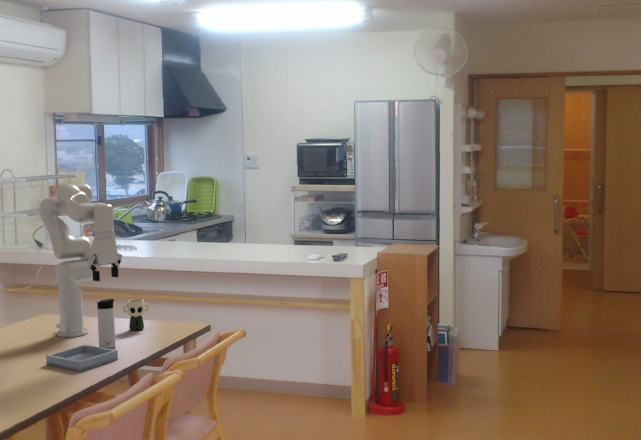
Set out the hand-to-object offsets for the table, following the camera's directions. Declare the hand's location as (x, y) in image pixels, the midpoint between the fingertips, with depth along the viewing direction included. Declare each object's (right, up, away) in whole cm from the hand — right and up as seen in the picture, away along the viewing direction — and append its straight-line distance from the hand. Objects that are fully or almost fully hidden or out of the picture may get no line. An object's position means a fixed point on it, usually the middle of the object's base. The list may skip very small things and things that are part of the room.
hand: (105, 278), depth 303 cm
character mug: (+4, -25, +34) cm, 42 cm away
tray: (-4, -30, -16) cm, 34 cm away
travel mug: (0, -28, +3) cm, 28 cm away
